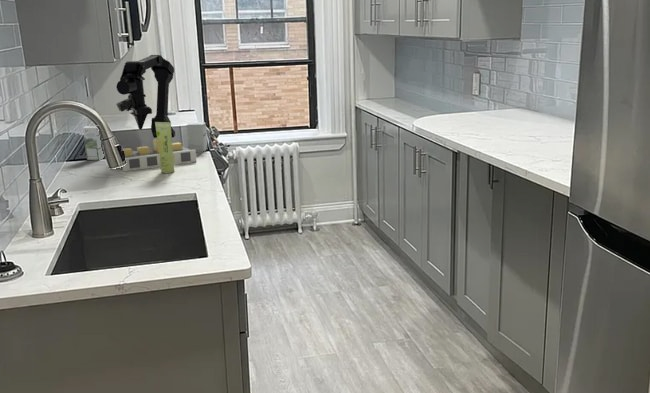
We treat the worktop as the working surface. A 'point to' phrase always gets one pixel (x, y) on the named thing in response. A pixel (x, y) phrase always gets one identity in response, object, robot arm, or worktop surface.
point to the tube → (165, 146)
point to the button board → (152, 153)
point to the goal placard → (158, 160)
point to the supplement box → (197, 136)
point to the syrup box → (92, 143)
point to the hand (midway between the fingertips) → (140, 129)
